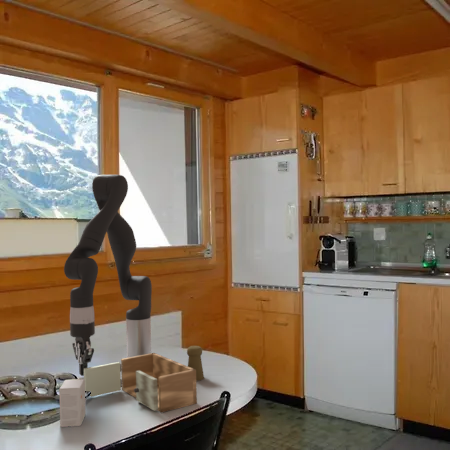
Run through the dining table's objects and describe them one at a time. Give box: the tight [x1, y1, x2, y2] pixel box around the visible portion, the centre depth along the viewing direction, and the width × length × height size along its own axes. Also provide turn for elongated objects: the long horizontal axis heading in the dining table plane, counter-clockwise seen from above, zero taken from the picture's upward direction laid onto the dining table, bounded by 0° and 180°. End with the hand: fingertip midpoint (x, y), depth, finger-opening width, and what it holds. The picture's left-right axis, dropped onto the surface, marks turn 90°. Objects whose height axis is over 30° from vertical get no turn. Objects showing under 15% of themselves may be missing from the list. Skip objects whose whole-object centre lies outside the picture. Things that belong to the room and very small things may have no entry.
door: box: [83, 361, 122, 398], centre depth 167 cm, size 12×2×9 cm, turn 126°
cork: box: [186, 345, 205, 382], centre depth 183 cm, size 6×6×11 cm
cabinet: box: [120, 352, 198, 414], centre depth 164 cm, size 26×15×10 cm, turn 36°
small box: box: [58, 378, 87, 428], centre depth 146 cm, size 8×6×10 cm
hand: (83, 374), depth 169 cm, fingers closed
